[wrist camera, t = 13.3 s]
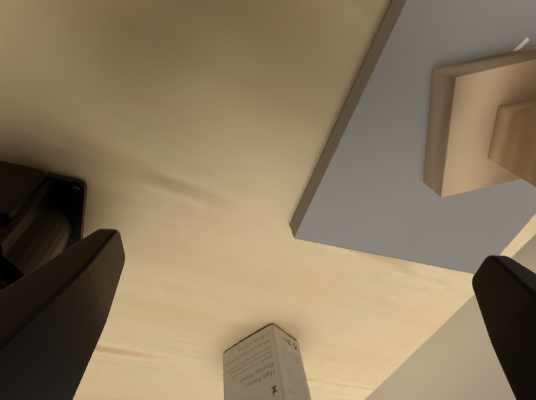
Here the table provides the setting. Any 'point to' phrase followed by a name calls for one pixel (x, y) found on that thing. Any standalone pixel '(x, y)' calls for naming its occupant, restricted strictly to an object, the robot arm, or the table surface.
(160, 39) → the table surface
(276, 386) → the skincare box
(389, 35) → the board
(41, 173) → the robot arm
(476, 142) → the wooden block tower
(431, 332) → the table surface
